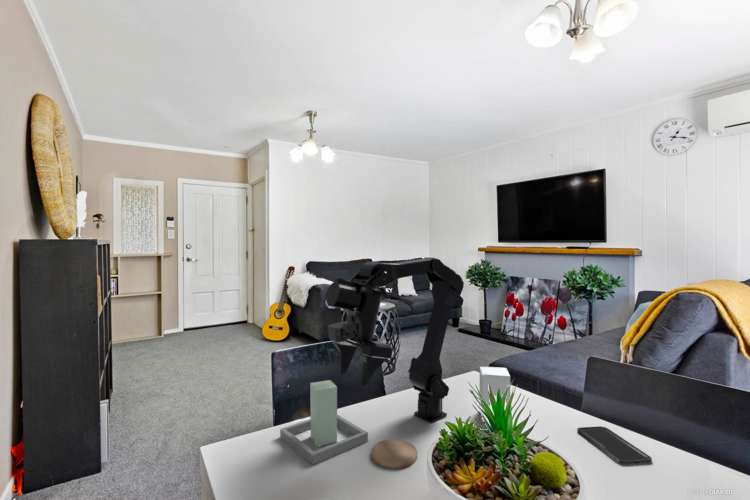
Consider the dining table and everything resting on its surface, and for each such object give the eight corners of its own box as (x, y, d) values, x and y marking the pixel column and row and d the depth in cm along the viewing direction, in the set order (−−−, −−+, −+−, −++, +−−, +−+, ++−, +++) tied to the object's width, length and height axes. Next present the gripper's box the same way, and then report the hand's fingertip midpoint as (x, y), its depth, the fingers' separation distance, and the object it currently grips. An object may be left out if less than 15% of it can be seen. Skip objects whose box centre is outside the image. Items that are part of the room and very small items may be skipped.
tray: (332, 419, 101) (332, 411, 101) (367, 441, 89) (367, 432, 89) (280, 437, 91) (280, 429, 91) (312, 464, 79) (312, 455, 79)
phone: (604, 426, 95) (654, 459, 80) (604, 430, 95) (654, 464, 80) (574, 427, 94) (620, 461, 79) (574, 432, 94) (620, 467, 79)
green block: (330, 432, 93) (330, 380, 93) (337, 441, 89) (337, 386, 89) (310, 436, 91) (310, 383, 91) (316, 446, 87) (316, 390, 87)
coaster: (395, 439, 90) (395, 434, 90) (426, 456, 82) (426, 452, 82) (362, 454, 84) (362, 449, 84) (393, 474, 76) (393, 469, 76)
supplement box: (511, 425, 97) (511, 376, 97) (481, 422, 98) (481, 374, 98) (506, 413, 104) (506, 367, 104) (479, 410, 106) (479, 365, 106)
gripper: (319, 303, 94) (304, 367, 92) (359, 313, 79) (343, 390, 76) (356, 310, 100) (343, 370, 98) (400, 321, 85) (386, 392, 83)
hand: (352, 379), depth 88 cm, fingers open, 9 cm apart
